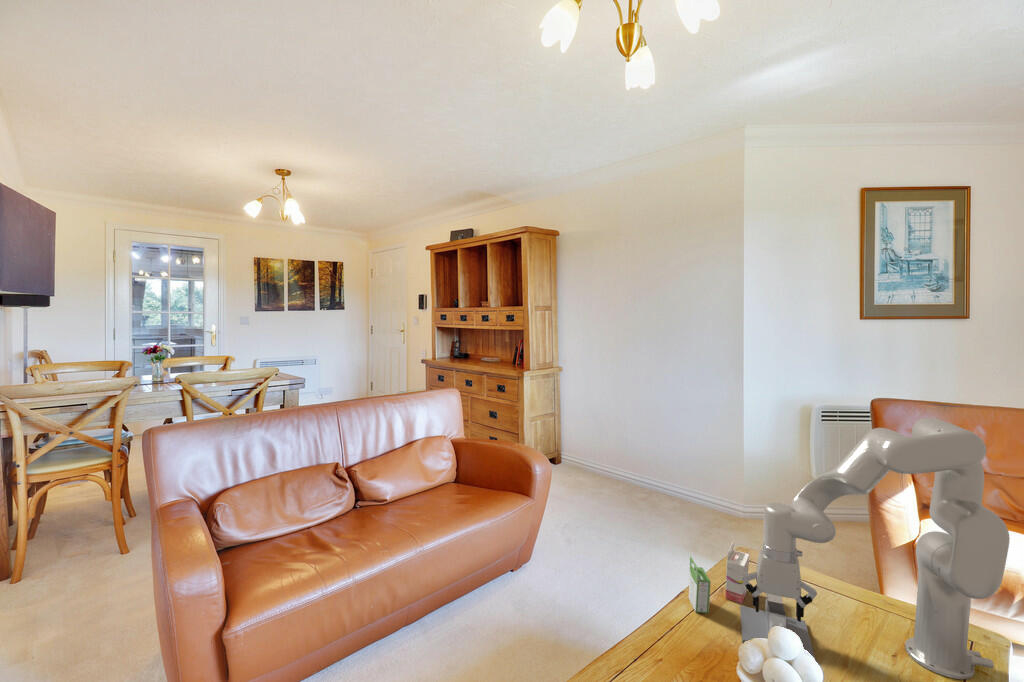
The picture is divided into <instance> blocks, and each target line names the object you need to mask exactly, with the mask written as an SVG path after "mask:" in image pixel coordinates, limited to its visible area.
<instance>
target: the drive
mask: <svg viewBox="0 0 1024 682" xmlns="http://www.w3.org/2000/svg"><path fill="white" fill-rule="evenodd" d="M765 611H766V622H767V629H768V633H769V631H770V629H771V628H772V627H774V626H780V627H784V628H786V616H787V615H786V611H785V607H784V603H783V597H782V596H777V595H772V594H768V593H766V598H765Z"/></svg>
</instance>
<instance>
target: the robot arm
mask: <svg viewBox="0 0 1024 682" xmlns="http://www.w3.org/2000/svg"><path fill="white" fill-rule="evenodd" d="M986 455H987V446H986V443H985V442H984V440H983V438H981V436H979V435H977V434H976V433H975V432H972V431H970V430H969V429H967V428H966V429H965V428H963V427H960V426H958V425H956V424H953V423H951V422H948V421H945V420H943V419H939V418H934V417H924V418H921V419H918V420H917V421H915V422H914V424H913V425H912V428H911V436H905V435H903V434H901V433H900V432H897V431H894V430H893V429H889V428H886V427H875V428H872V429H871V430H869V431H867V433H865V434H864V435H863V436H862V438H860V440H859V441H858V442H857V443H856V445H854V446H853V448H851V450H850V451H849V452H848V453H847V455H846V456H844V458H842V460H841V461H839V463H838V464H837V465H836V466H835V467H834V468H833V469H832V470H830V471H827V472H825V473H823V474H821V475H819V476H817V477H815V478H814V479H812V480H811V481H809V482H808V483H806V485H804V486H803V487H802V489H801V490H800V491H799V492H798V493H797V494H796V495H795V497H794V498H793V499H792V500H791V503H790V504H789V505H788V504H785V503H781V502H769V503H767V504H765V506H764V508H763V529H762V531H763V532H762V533H763V534H762V535H763V537H762V549H761V550H760V551H759V553H758V556H757V561H756V563H757V564H756V571H753V572H750V573H749V572H748V574H745V575H742V580H743V582H744V584H745V586H746V588H747V592H749V593H750V594H751V595H752V607H754V609H756V612H759V610H760V595H761V594H762V593H764V594H767V593H768V594H772V595H777V596H781V597H782V598H787V599H793V600H795V601H796V602H795V605H796V606H795V608H796V609H795V616H796V619H797V621H799V622H801V620H802V618H804V614H805V608H806V606H808V605H809V604H811V603H812V602H813V600H814V599H815V598H816V597H817V595H818V592H817V590H816V589H815V588H814V587H812V586H810V585H809V584H807V583H806V582H804V581H803V580H802V579H801V578H802V577H801V576H802V575H801V569H800V568H801V567H800V561H799V557H803V551H802V550H798V548H797V539H799V540H802V541H803V540H804V541H807V542H808V541H809V542H811V543H817V544H826V543H829V542H831V541H832V540H834V538H835V537H836V535H837V533H836V532H837V530H836V527H835V524H834V522H833V521H832V520H831V518H830V516H828V515H827V514H826V513H825V512H824V511H825V509H827V508H828V507H829V505H830V504H831V503H833V502H834V501H835V500H837V499H839V498H841V497H844V496H849V495H850V496H852V495H854V496H858V495H860V496H861V495H867V494H869V493H871V492H872V491H873V489H874V488H875V487H876V486H877V485H878V484H879V483H880V482H881V480H883V478H885V476H886V475H887V474H888V473H889V472H891V471H892V472H894V473H896V474H901V475H916V474H929V473H934V480H933V481H934V482H933V486H932V493H931V497H930V503H929V509H928V510H929V517H930V518H931V520H932V521H933V522H934V524H935V525H936V526H938V528H940V529H942V530H943V531H944V532H942V531H937V530H934V531H929V532H926V533H924V534H922V535H921V536H920V537H919V538H918V540H917V542H916V545H915V557H916V565H917V576H918V577H917V578H918V579H917V592H916V607H915V619H914V633H913V637H910V638H908V639H907V640H905V642H904V643H905V644H904V647H905V648H904V649H905V652H906V653H907V654H908V655H909V656H910V658H911V659H912V660H914V661H915V662H916V663H918V664H919V665H920V666H922V667H924V668H926V669H927V670H929V671H931V672H934V673H935V674H939V675H941V676H944V677H947V678H951V679H956V680H968V679H971V678H973V677H974V675H975V667H976V666H980V667H982V668H988V669H993V670H994V667H995V665H994V661H993V660H992V659H991V658H987V657H982V655H981V654H982V653H981V652H980V651H975V650H971V649H968V638H969V635H968V634H969V628H970V627H969V626H970V615H971V605H972V599H975V600H984V599H985V600H986V599H989V598H991V597H992V596H994V595H995V594H996V593H997V592H998V590H999V589H1000V587H1001V585H1002V582H1003V579H1004V575H1005V568H1006V564H1007V563H1006V562H1007V558H1008V552H1009V548H1010V539H1011V538H1010V532H1009V529H1008V527H1007V524H1006V523H1005V522H1004V520H1003V519H1002V518H1001V517H1000V516H999V515H997V513H995V512H993V511H992V510H990V509H988V508H987V507H985V506H984V504H983V496H984V486H985V472H984V467H983V463H982V461H983V460H984V459H985V457H986ZM753 580H755V582H756V584H755V585H754V586H753V585H752V584H751V582H750V581H753ZM802 590H804V591H806V592H807V594H805V595H804V596H802Z"/></svg>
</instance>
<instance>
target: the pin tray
mask: <svg viewBox="0 0 1024 682" xmlns="http://www.w3.org/2000/svg"><path fill="white" fill-rule="evenodd" d="M739 606H740V607H739V608H740V609H739V610H740V613H739V614H740V625H741V626H740V627H741V641H742V644H744V643H743V642H745V641H748V640H751V639H753V638H768V629H767V622H766V610H761V609H759V612H756V608H755V607H754V608H753V607H749V606H746V605H742V604H741V605H739ZM786 628H787V629H790V630H792V631H793V632H795V633H796V634H797V635H798V636H799V637H800V639H801V641H802V643H803V647H804V649H805V650H807V651H808V652H809V653H810V654H811V655H812V656H813V657H814V658H815V659H816V655H815V653H814V649H813V645H812V642H811V637H810V634H809V631H808V626H807V622H806V620H803V619H801V622H799V621H797V617H796V618H794V617H791V616H787V615H786Z"/></svg>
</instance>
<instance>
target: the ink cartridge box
mask: <svg viewBox="0 0 1024 682" xmlns="http://www.w3.org/2000/svg"><path fill="white" fill-rule="evenodd" d="M734 546H735V541H732V544H731V545H730V547H729V549H728V551H727V558H726V570H725V571H726V573H725V574H726V575H725V576H726V577H725V597H724V598H725V599H727V600H729V601H733V602H735V603H738V604H741V605H742V604H743V603H744V600H745V597H746V594H747V592H748V589H747V588H746V586H745V584H744V582H743V580H742V575H745V574H749V562H750V554H749V553H746V552H742V551H739V550H735V549H734Z"/></svg>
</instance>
